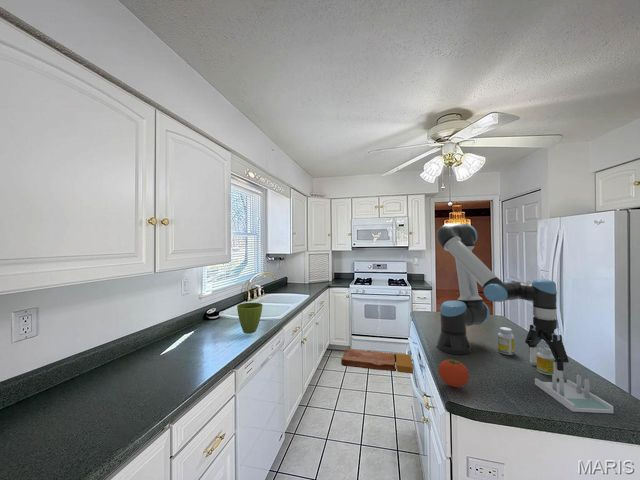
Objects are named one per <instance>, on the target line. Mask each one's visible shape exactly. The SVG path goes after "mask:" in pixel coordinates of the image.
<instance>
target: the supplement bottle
mask: <svg viewBox="0 0 640 480" xmlns="http://www.w3.org/2000/svg"><path fill="white" fill-rule="evenodd" d="M554 360H555V358H554V356H553V354H552V352H551V350H550V348H549V347H545V346H539V347H538V351H537V363H536V371H537V372H538V373H540V374H542V375H546V376H552V374H554Z"/></svg>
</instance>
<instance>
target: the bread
mask: <svg viewBox="0 0 640 480" xmlns="http://www.w3.org/2000/svg"><path fill="white" fill-rule="evenodd" d="M340 364H341V366H343V367H351V368H358V369H359V368H361V369H365V370H373V371H375V370H376V371H387V372H397V373H403V374H412V375H413V374H414V366H413V361H412V355H411V354H406V353H397V352H396V353H393V352H383V351H376V350H374V351H373V350H363V349H349V348H346V349H345V351H344V353H343V356H342V357H341V361H340Z"/></svg>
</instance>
